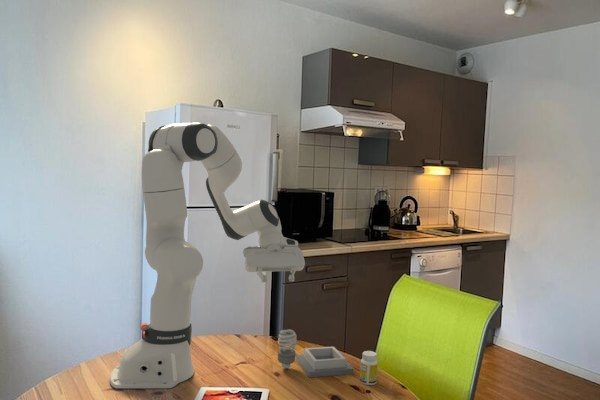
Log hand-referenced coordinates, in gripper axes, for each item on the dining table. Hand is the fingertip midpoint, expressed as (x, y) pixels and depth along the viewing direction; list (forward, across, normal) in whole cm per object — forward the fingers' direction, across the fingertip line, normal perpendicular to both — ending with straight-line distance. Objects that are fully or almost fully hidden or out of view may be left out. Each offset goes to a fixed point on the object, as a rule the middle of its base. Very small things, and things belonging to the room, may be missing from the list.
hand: (278, 281), depth 149 cm
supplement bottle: (+36, +21, -2) cm, 42 cm away
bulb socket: (+27, +12, +6) cm, 30 cm away
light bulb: (+27, 0, +7) cm, 27 cm away
